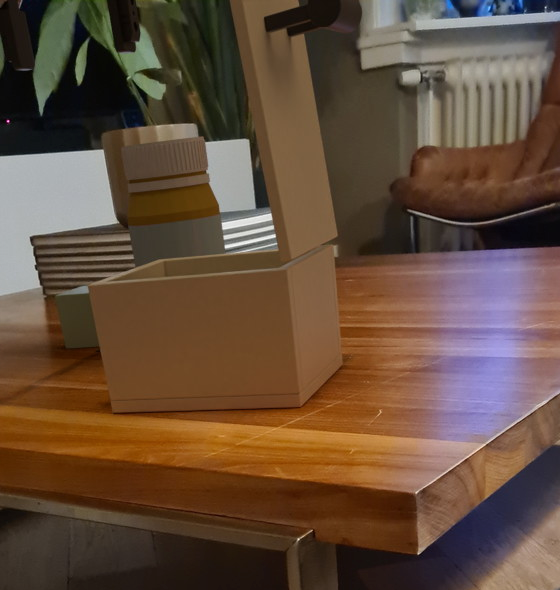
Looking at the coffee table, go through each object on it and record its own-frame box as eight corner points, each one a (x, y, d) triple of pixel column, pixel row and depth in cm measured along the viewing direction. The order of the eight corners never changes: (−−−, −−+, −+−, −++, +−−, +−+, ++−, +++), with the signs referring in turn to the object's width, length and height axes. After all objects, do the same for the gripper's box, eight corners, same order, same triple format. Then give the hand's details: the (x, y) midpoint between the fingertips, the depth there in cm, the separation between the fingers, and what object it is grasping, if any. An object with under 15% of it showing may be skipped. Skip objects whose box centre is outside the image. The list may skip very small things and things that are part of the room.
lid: (224, -23, 45) (318, -54, 43) (286, -3, 54) (367, -28, 52) (280, 262, 51) (365, 245, 49) (328, 238, 60) (401, 223, 58)
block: (66, 353, 79) (54, 295, 77) (92, 341, 83) (81, 286, 81) (116, 351, 77) (105, 291, 75) (140, 338, 81) (130, 282, 79)
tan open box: (112, 413, 58) (86, 285, 55) (176, 372, 67) (158, 259, 64) (300, 407, 54) (287, 268, 51) (343, 364, 63) (333, 244, 60)
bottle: (253, 345, 73) (227, 133, 66) (176, 364, 69) (140, 143, 63) (210, 337, 78) (181, 140, 71) (136, 355, 75) (99, 149, 68)
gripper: (144, -235, 61) (182, 50, 68) (-36, -187, 65) (18, 76, 73) (91, -274, 55) (139, 44, 62) (-104, -217, 59) (-37, 73, 67)
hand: (74, 61), depth 67 cm, fingers open, 8 cm apart
